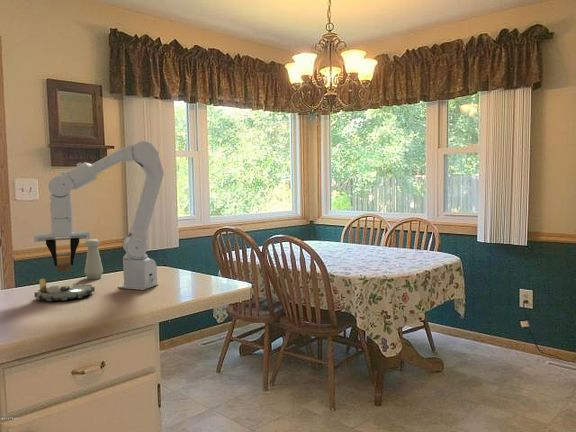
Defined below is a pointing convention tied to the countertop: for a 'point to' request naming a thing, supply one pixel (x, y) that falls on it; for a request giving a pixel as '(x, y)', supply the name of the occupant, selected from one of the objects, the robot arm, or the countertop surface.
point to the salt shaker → (93, 260)
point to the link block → (63, 261)
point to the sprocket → (62, 291)
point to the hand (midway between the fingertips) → (64, 265)
